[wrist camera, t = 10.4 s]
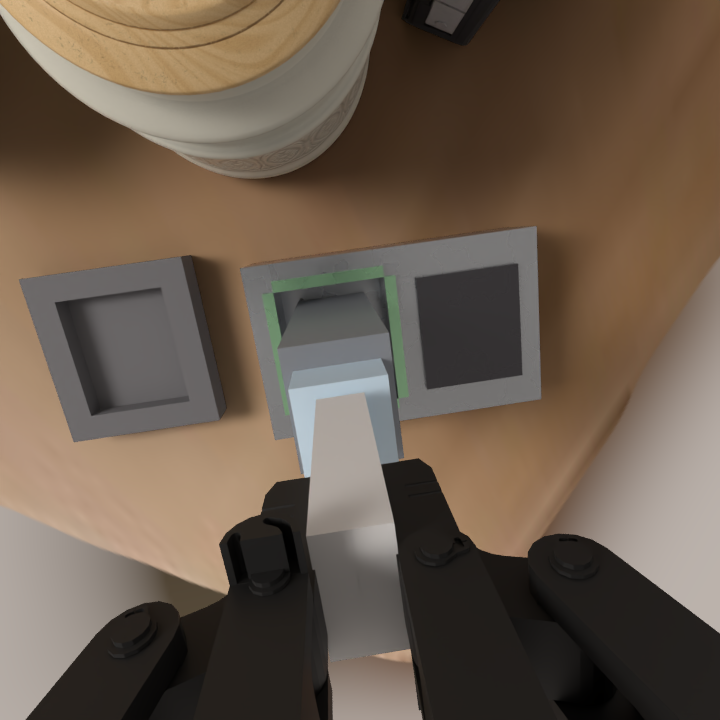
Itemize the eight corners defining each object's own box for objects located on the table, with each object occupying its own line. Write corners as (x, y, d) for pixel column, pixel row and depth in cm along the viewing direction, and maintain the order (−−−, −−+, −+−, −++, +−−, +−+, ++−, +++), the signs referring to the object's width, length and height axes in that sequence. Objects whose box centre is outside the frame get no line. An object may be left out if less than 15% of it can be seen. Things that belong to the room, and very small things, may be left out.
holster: (40, 276, 27) (18, 279, 25) (191, 255, 27) (180, 256, 25) (90, 428, 30) (73, 442, 28) (226, 408, 30) (219, 420, 28)
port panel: (252, 263, 28) (238, 268, 24) (508, 227, 28) (539, 226, 24) (281, 414, 30) (274, 442, 26) (514, 378, 31) (543, 400, 27)
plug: (298, 301, 28) (270, 364, 14) (363, 291, 28) (397, 345, 14) (312, 378, 29) (297, 504, 15) (373, 369, 29) (413, 485, 16)
